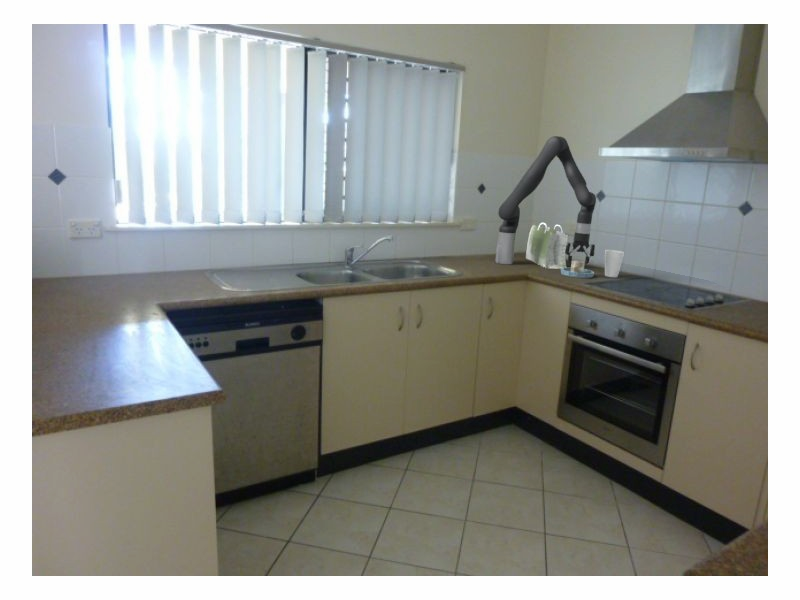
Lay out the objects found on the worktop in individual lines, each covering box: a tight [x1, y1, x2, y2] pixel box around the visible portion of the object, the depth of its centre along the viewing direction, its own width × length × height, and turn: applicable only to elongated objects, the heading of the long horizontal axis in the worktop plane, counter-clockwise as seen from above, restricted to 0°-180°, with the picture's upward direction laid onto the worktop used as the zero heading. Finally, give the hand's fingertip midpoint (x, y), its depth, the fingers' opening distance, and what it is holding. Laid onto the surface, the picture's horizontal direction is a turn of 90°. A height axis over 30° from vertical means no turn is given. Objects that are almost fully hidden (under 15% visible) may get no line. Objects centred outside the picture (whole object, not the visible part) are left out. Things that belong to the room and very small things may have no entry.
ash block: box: [570, 260, 586, 273], centre depth 292 cm, size 5×5×6 cm
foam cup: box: [604, 249, 625, 278], centre depth 294 cm, size 10×9×13 cm
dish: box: [560, 267, 595, 279], centre depth 292 cm, size 16×16×2 cm
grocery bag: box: [525, 222, 569, 270], centre depth 322 cm, size 32×14×23 cm, turn 8°
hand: (578, 263), depth 291 cm, fingers open, 8 cm apart
